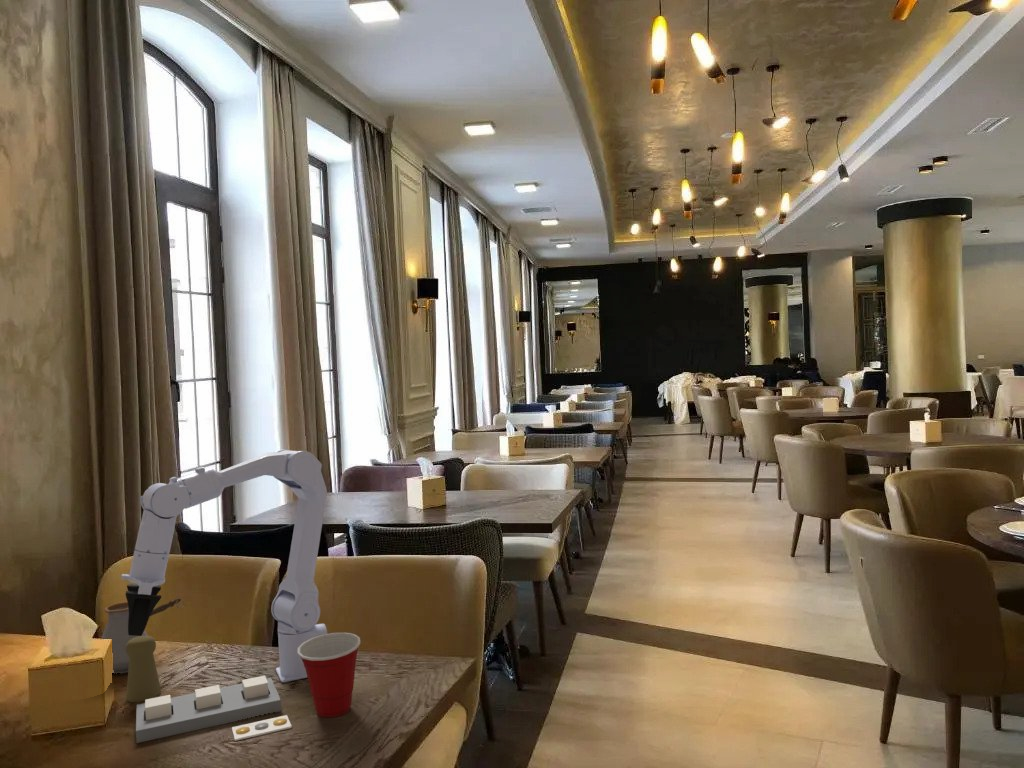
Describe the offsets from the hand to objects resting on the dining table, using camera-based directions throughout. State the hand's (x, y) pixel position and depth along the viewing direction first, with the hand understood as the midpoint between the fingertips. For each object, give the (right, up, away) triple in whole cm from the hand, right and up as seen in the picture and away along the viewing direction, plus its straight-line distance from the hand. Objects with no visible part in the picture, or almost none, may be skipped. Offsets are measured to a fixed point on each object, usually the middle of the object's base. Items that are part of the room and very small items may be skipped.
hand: (135, 630), depth 138 cm
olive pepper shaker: (-4, -16, +12) cm, 21 cm away
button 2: (+19, -13, +6) cm, 24 cm away
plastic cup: (+34, -14, 0) cm, 37 cm away
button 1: (+5, -14, -1) cm, 15 cm away
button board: (+12, -15, +2) cm, 20 cm away
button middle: (+12, -14, +2) cm, 18 cm away
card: (+24, -15, -5) cm, 28 cm away
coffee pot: (-11, -16, +27) cm, 33 cm away
